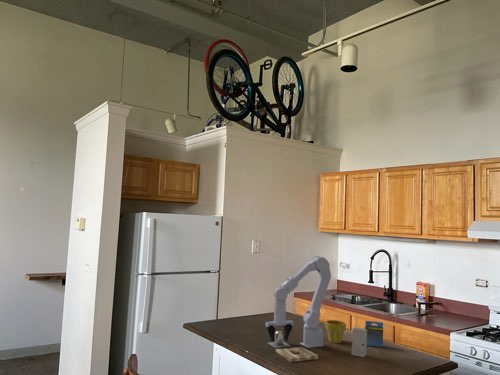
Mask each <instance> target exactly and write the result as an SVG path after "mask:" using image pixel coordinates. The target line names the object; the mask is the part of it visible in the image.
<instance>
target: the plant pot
mask: <svg viewBox="0 0 500 375" xmlns="http://www.w3.org/2000/svg"><path fill="white" fill-rule="evenodd" d="M346 326H347V323H346V322H345V321H343V320H342V321H341V320H338V319H328V320H326V321H325V329H326V331H327V332H326V333H327V338H328V342H330V343H332V344H340V343H342V341H343V337H344V334H345V331H346V330H347V328H346Z"/></svg>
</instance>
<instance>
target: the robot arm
mask: <svg viewBox="0 0 500 375" xmlns="http://www.w3.org/2000/svg"><path fill="white" fill-rule="evenodd" d="M330 265H331V264H330V262H329V261H328V259H327V258H325V257H323V256H319V255H316V256H314V257H312V259H310V260H308V262H307V263H305V264H304V265H303V267H302V268H301V269H300V270H298V272H297V273H296V274H295V275H294V276H289V277H286V278H285V281H284V282H283V283H282V284H280V285H279V287H277V288H276V289H274V292H273V295H274V308H273V313H274V314H273V320H272V321H266V322H265V327H266V329H267V331H268V334H269V338H270V342H275V331H276V328H275V327H280V326H281V327H283V341H285V342H288V341H289V337H290V336H289V335H291V332H292V329H293V326H294V321H293V320H286V318H287V316H286V314H287V313H286V312H287V304H286V303H287V298H288V296H289V295H290V294H291V293H292V292H293V291H294V290H295V289H296V288H297V287H298V286H299V282H300V281H301V280H303V278H304V277H305V276H306V275H308V274H309V273H310V272H314V271H317V273H318V275H319V279H318V282H317V285H316V288H315V291H314V293H313V297H312V300H311V303H310V306H308V308H307V310H306V312H305V313H304V314H303V316H302V319H303V322H304V324H303V335H302V336H303V339H302V340H303V342H299V344H300V345H302V346H304V347H306V349H307V348H310V349H311V348H318V347H325V345H324V330H323V328H322V327H321V326H319V325H320V317H321V309H322V304H323V302H324V299H325V296H326V293H327V290H328V288H329V287H328V286H329V285H330V281H331V279H332V272H331V268H330Z"/></svg>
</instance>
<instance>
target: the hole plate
mask: <svg viewBox="0 0 500 375" xmlns="http://www.w3.org/2000/svg"><path fill="white" fill-rule="evenodd" d="M275 352H276V353H277V354H278V355H280V356H282V357H283V358H284V359H285V360H286V361H288V362H290V363H293V362H302V361H311V360H313V359H314V360H319V354H317V353H314V352H312V351H311V350H308V349H307V348H305V347H303V346H296V347H283V348H275ZM297 353H299V354H297Z"/></svg>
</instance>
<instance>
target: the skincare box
mask: <svg viewBox="0 0 500 375" xmlns="http://www.w3.org/2000/svg"><path fill="white" fill-rule="evenodd" d="M351 330H352V334H351V336H352V337H351V355H352V356H356V357H361V358H365V357H366V356H367V329H365V327H357V326H354V327H352V329H351Z"/></svg>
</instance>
